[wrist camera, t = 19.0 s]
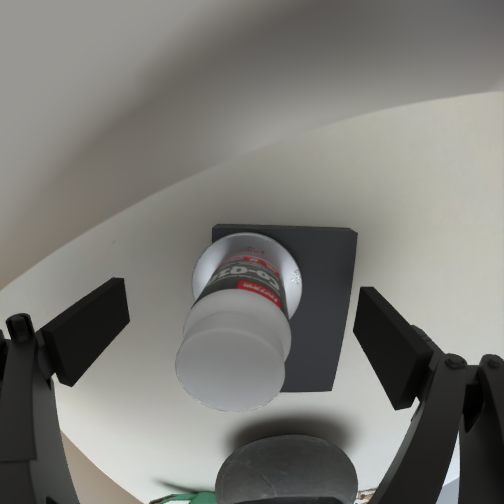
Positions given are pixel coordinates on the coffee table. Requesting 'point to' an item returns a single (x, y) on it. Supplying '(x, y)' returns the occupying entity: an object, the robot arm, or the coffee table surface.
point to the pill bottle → (236, 337)
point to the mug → (189, 498)
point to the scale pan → (250, 247)
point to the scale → (313, 298)
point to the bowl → (287, 473)
